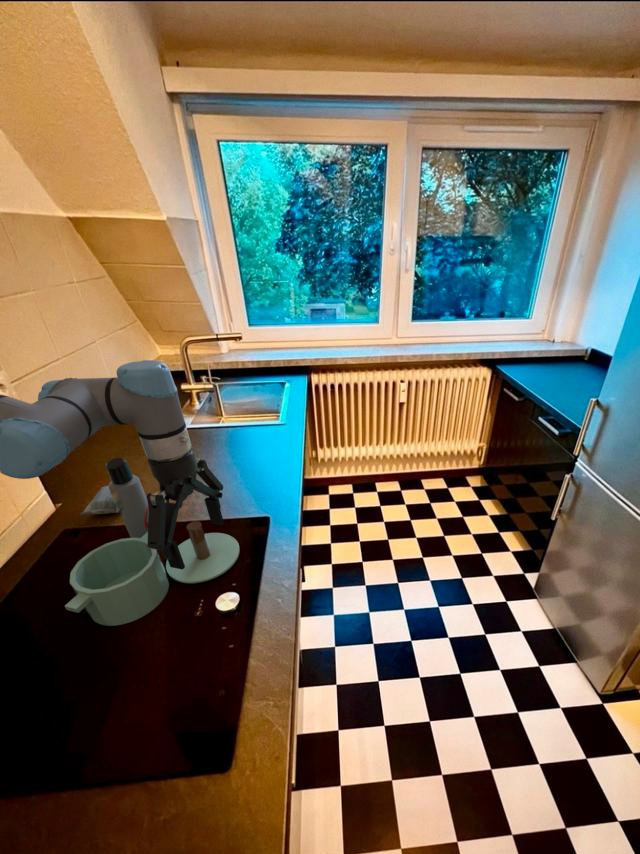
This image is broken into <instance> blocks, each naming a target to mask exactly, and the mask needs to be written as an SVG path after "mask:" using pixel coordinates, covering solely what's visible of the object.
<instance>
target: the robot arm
mask: <svg viewBox="0 0 640 854" xmlns="http://www.w3.org/2000/svg"><path fill="white" fill-rule="evenodd" d="M124 425H125V426H126V425H127V426H128V425H134V428H135V429H136V433H137V435H138V438H139V440H140V443H141V447H142V449H143V452H144V455H145V457H146V458H147V463H148V467H149V468H150V471H151V474H152V476H153V478H155V480H156V481H157V482H158V484H159V487H158V489H159V490H157V491H156V492H154V493H152V492H148V493H147V494H146V498H147V502H148V505H149V515H148V542H147V546H148V548H152V549H157V551H160V552H161V554H162V557H163V558H164V559H166V560H167V559H168V562H169V564H170V567H172V568H177V569H182V570H183V569H184V568H185V565H184V562H183V559H182V556H181V554H180V551H179V548H178V546H179V545H178V543H177V541H176V540H173V539H174V534H175V529H176V525H177V521H178V515H179V510H180V509H182V507H183V503H184V502H185V500H187V499H188V497H189V496H190V495H192V494H193V493H194V491H195V492H197V493H199V494H201V495H204V496H206V497H205V498H204V504H205V507H206V510H207V514H208V517H209V520H210V524H212V525H217V526H224V524H225V522H224V517H223V514H222V510H221V505H222V504H221V501H220V499H222V498H223V492H220V491H223V490H224V485H223V483H222V482H221V481H220V479H218V477H217V476H216V475H215V474H214V473H213V471H212V470H211V469H210V468H209V466H208V464H207V461H206V460H205V459H202V458H196V455H195V451H194V448H192V447H193V446H192V442H191V439H190V435H189V431H188V427H187V423H186V420H185V416H184V413H183V410H182V405H181V402H180V397H179V392H178V387H177V386H176V384H175V381H174V378H173V375H172V372H171V369H170V367H169V366H168V365H167V364H166V363H165V362H162V361H160V360H155V359H145V360H144V359H143V360H140V361H131V362H127V363H124V364H121V365H120V366H119V367H117V369H116V376H115V377H87V378H77V377H66V378H63V379H54V380H49V381H46V382H45V383H43V385H42V386H41V390H40V392H38V394H37V401H34V402H32V403H31V402H27V401H23V400H21V399H18V398H14V397H11V396H8V395H5V394H2V393H0V474H2V475H4V476H7V477H9V478H12V479H13V478H14V479H17V480H18V479H19V480H30V479H34V478H38V477H40V476H42V475H44V474H45V473H47V472H49V471H50V470H52V469H53V468H55V467H56V466H58V465H60V464H61V463H63V461H65V460H66V459H67V457H68V456H69V455H70V454H71V453H72V452H73V451H74V450H76V448H78V447H79V446H80V445H81V444H82V443H84V442H85V441H87V440H88V439H89V438H91V437H92V436H93V435H94V434H95V433H97V432H98V431H99V430H100V429H101V428H102V427H106V426H107V427H108V426H124ZM197 475H198V476H199V478H200V479H201V480H202V481H203V482H202V481H200V480H198V479H197ZM204 483H205V484H204ZM170 500H171V501H175V503H174V502H170Z"/></svg>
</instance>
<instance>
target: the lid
mask: <svg viewBox="0 0 640 854" xmlns="http://www.w3.org/2000/svg"><path fill="white" fill-rule="evenodd" d="M186 531H187V533H188V537H189V538H188V539H186V540H184V541H183V542H182V543H180V544H179V545H178V548H179V551H180V554H181V556H182V559H183V562H184V565H185V568H184V569H183V570H182V569H177V568H172V567H170V564H169V562H168V559H166V562H165V571H166V573H167V575H169V577H170V578H171V579H172V580H173V581H176V582H178V583H179V582H180V583H182V584H199V583H205V582H208V581H211V580H213V579H216V578H218V577H220V576H222V575H224V574H225V573H226V572H227V571H229V570H230V569H231V568H232V567H233V566H234V565H235V564H236V562H237V561H238V559H239V556H240V551H241V549H240V545H239V542H238V540H237V539H236V538H235V537H233V536H231V535H229V534H226V533H222V532H208V533H207V532H206V533H205V531H204V528H203V524H202V523H201V522H200V521H199V520H198V521H197V520H196V521H192V522H191V521H190V523H188V524H187V525H186Z"/></svg>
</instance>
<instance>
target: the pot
mask: <svg viewBox="0 0 640 854" xmlns="http://www.w3.org/2000/svg"><path fill="white" fill-rule="evenodd" d="M147 542H148V532H147V533H146V534H145V535H143V536H142V537H141V538H131V537H126V538H120V539H116V540H113V541H110V542H107V543H104V544H103V545H101V546H98V547H97V548H95V549H93V550H91V551H89V552H88V553H86V555H84V556H83V557H82V558H80V559H79V560H78V561H77V562H76V564H75V565H74V567H73V568H72V569H71V571H70V573H69V585H70V587H71V588H72V590H73V591H74V593H75V595H74V597H73V598H72V599H70V600H69V601H68V602H67V603H66V604H64V608H65V610H66V611H69V612H73V613H80V612H81V611H83V610H85V612H86V613H87V614H88V615H89V617H90V618H91V620H92V621H93V622H94V623H97V624H98V625H101V626H106V627H113V626H114V627H115V626H122V625H125V624H129V623H132V622H135V621H137V620H139V619H141V618H143V617H145V616H146V615H149V613H151V612H152V611H154V610H155V609H156V608H157V607H158V606H159V605H160V604H161V603H162V602H163V600H164V599H165V597H166V596H167V594H168V592H169V588H170V581H169V578H168V573H167V570H166V568H165V566H164V563H163V561H162V559H161V557H160V554H159V550H157V549H152V548H148V546H147Z"/></svg>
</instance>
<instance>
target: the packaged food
mask: <svg viewBox="0 0 640 854" xmlns="http://www.w3.org/2000/svg"><path fill="white" fill-rule="evenodd" d="M79 514H80V515H81V516H86V515H92V516H93V515H106V514H120V512H119V510H118V508H117V505H116V503H115V501H114V499H113V496H112V494H111V492H110V490H109V485H105V486H102V487H100V489H99V490H98V492H97V493H96V494H95V495H94V497H93V498H92V500H91V501H90V502H89V503H88V505H86V507H85V509H84V511H83V512H80V513H79Z"/></svg>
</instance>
